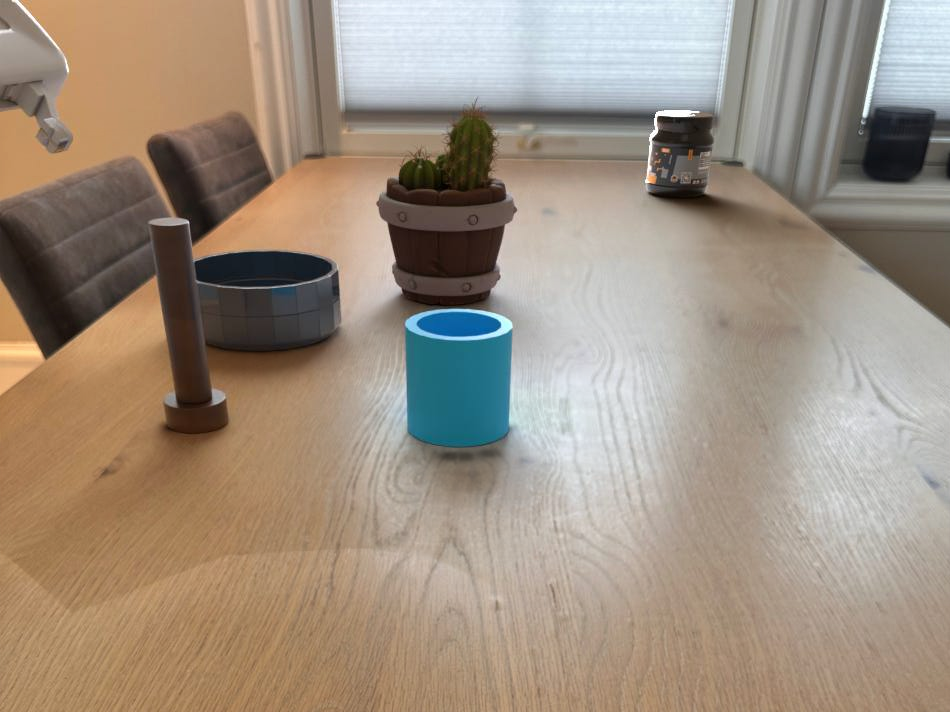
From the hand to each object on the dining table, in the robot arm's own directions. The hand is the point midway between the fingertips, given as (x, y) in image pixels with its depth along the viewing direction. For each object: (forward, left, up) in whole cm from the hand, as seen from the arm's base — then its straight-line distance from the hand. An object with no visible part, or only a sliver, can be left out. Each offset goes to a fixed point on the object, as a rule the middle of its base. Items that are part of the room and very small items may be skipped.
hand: (16, 156), depth 70 cm
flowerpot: (-5, +47, -19) cm, 51 cm away
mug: (+23, +22, -19) cm, 37 cm away
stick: (+10, +6, -19) cm, 22 cm away
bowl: (-7, +24, -19) cm, 31 cm away
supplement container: (-27, +121, -19) cm, 125 cm away
